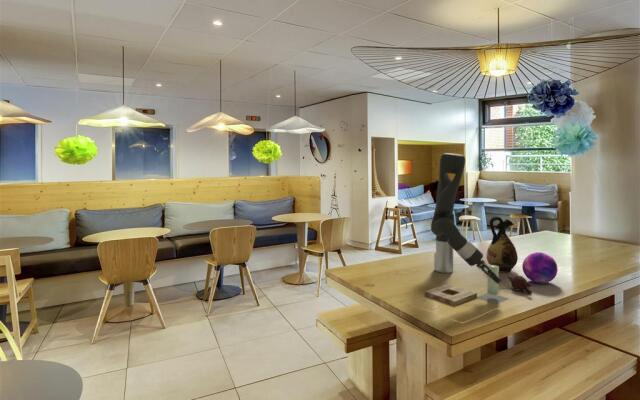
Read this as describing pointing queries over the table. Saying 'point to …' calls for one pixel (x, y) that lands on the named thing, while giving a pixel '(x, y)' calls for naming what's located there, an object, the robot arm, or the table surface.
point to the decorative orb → (539, 267)
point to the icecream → (520, 284)
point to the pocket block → (450, 294)
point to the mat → (492, 298)
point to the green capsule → (491, 284)
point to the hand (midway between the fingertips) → (497, 280)
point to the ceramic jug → (501, 247)
